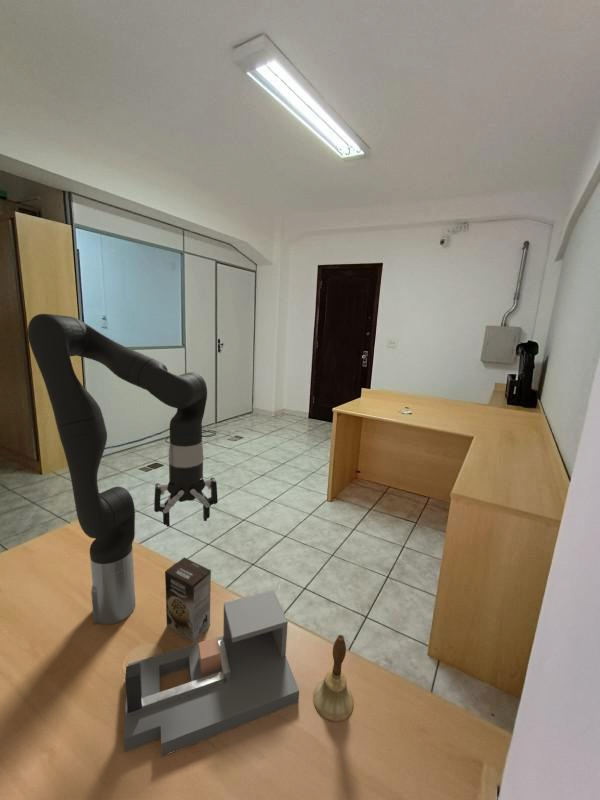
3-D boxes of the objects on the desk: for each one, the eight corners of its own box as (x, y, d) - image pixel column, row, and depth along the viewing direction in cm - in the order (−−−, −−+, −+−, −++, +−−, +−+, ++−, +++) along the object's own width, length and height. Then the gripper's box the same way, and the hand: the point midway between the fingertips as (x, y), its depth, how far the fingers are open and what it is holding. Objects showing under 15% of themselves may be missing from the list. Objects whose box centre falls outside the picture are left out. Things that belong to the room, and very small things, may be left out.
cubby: (123, 772, 59) (119, 716, 56) (129, 675, 75) (126, 627, 72) (298, 702, 71) (302, 653, 69) (271, 631, 87) (273, 590, 84)
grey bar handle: (127, 718, 64) (125, 678, 62) (130, 676, 71) (127, 639, 69) (230, 682, 71) (231, 646, 69) (223, 648, 79) (223, 613, 77)
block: (201, 674, 73) (201, 659, 72) (198, 657, 76) (198, 642, 75) (220, 668, 74) (220, 653, 73) (217, 651, 78) (217, 637, 77)
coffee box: (165, 627, 86) (163, 571, 83) (184, 609, 92) (183, 555, 88) (192, 644, 82) (192, 586, 79) (211, 624, 88) (211, 569, 84)
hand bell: (357, 689, 75) (365, 627, 71) (347, 730, 67) (355, 663, 63) (320, 673, 77) (326, 613, 74) (307, 710, 70) (312, 645, 66)
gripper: (215, 451, 87) (214, 509, 91) (153, 456, 82) (154, 518, 85) (220, 463, 80) (219, 526, 84) (152, 469, 75) (154, 536, 78)
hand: (186, 522), depth 85 cm, fingers open, 8 cm apart
